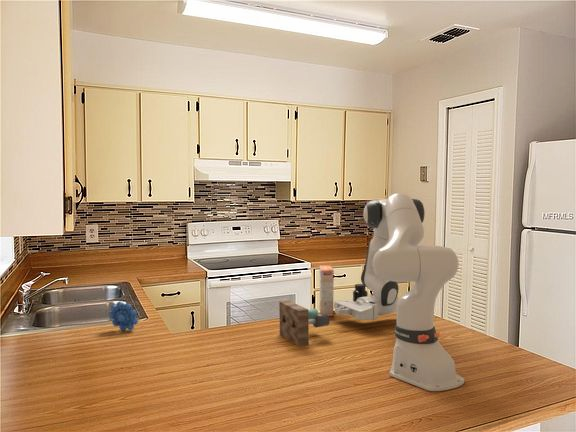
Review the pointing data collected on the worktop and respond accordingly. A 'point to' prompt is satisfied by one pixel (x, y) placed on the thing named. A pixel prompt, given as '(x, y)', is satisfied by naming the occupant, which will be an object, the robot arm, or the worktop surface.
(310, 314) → the teal knob
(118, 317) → the blue gear
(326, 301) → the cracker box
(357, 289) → the supplement bottle
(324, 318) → the black knob
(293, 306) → the block
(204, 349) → the worktop surface
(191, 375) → the worktop surface
